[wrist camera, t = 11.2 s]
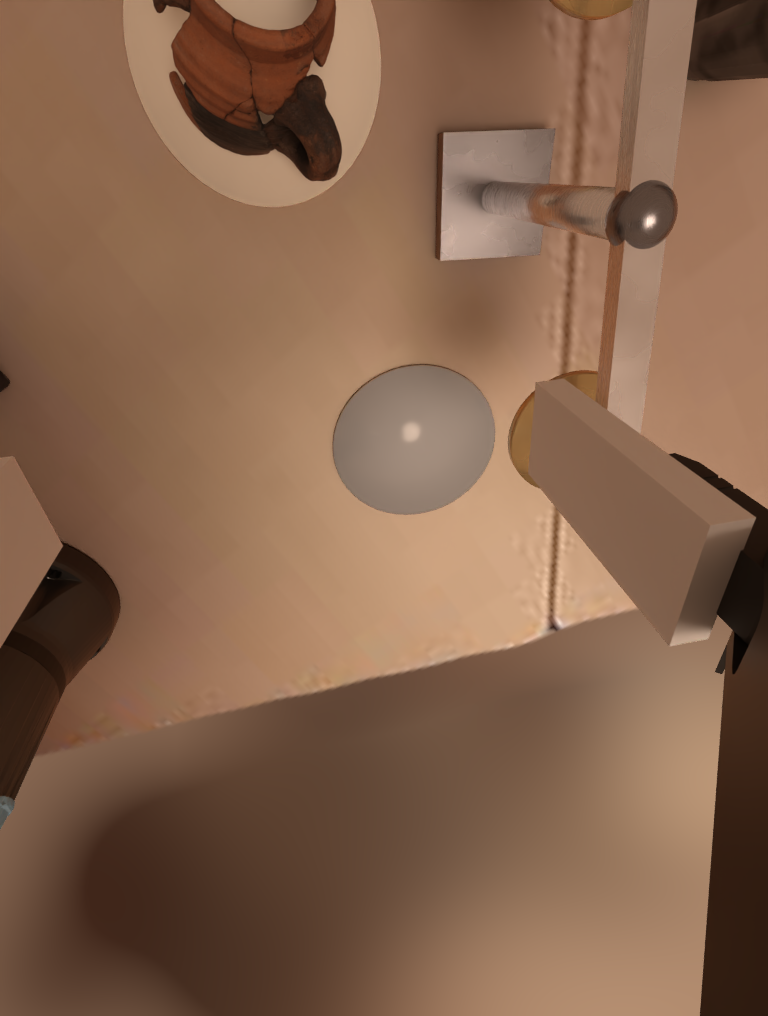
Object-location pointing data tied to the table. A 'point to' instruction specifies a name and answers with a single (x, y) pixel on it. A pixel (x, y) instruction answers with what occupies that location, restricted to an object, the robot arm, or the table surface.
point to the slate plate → (413, 439)
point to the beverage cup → (729, 40)
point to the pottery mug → (257, 84)
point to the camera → (3, 381)
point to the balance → (584, 203)
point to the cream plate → (273, 175)
